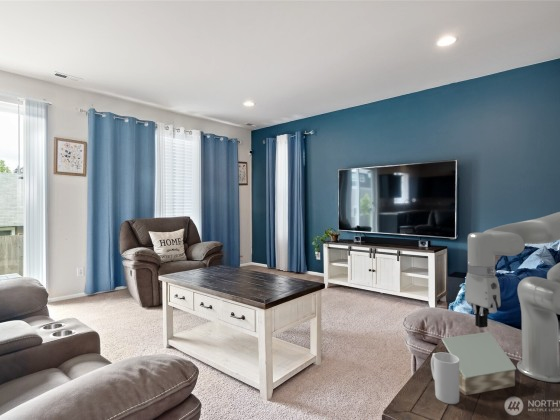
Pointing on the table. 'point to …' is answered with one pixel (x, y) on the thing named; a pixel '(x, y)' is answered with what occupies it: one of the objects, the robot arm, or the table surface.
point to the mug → (446, 377)
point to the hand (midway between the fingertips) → (481, 326)
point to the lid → (478, 354)
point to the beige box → (486, 382)
